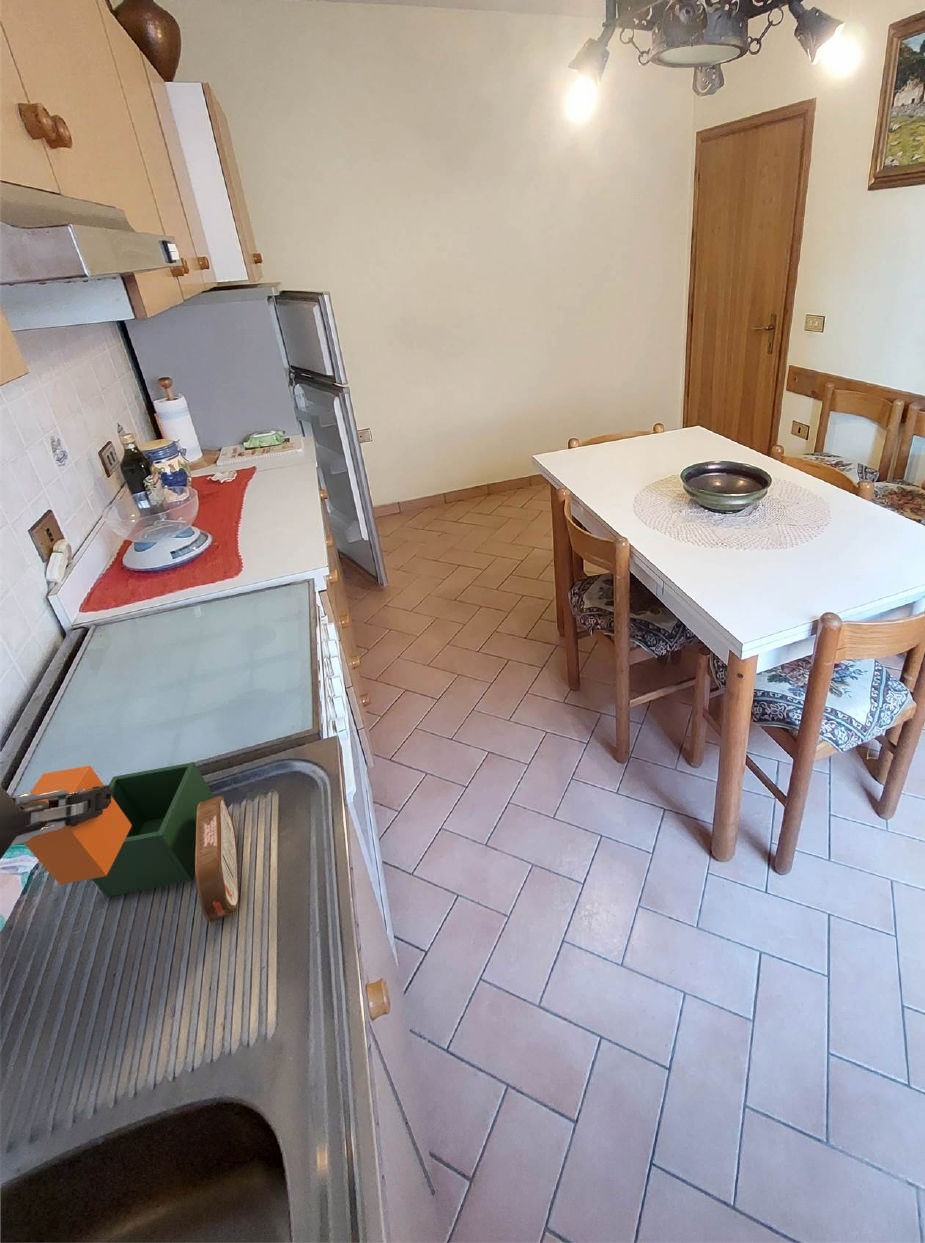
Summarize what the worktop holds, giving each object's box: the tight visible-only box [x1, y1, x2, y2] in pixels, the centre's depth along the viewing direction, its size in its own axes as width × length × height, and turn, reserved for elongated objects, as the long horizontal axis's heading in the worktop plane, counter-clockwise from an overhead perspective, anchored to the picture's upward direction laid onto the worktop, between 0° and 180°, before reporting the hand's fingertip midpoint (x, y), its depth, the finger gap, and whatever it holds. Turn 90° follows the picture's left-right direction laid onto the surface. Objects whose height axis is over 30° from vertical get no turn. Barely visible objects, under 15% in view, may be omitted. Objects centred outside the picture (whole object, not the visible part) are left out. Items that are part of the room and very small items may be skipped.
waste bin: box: [91, 761, 215, 898], centre depth 75 cm, size 10×10×10 cm
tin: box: [194, 795, 239, 924], centre depth 71 cm, size 15×3×8 cm, turn 27°
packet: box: [23, 765, 132, 885], centre depth 59 cm, size 4×6×10 cm
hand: (79, 801), depth 60 cm, fingers closed on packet, 4 cm apart
